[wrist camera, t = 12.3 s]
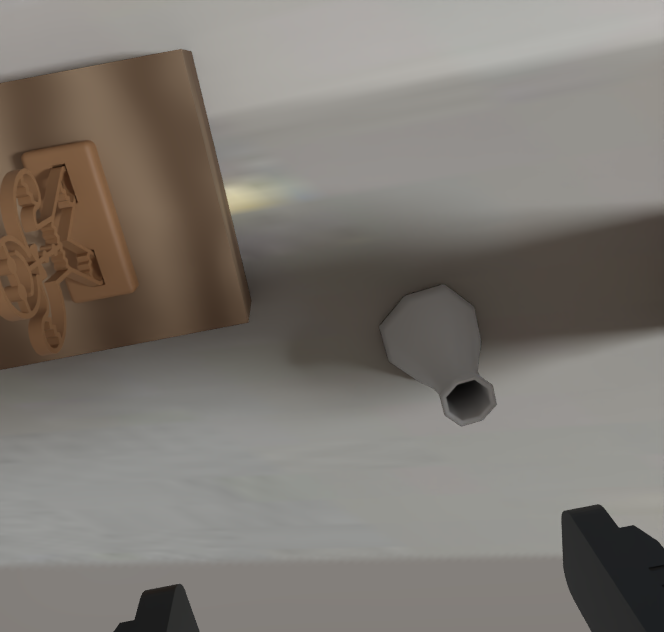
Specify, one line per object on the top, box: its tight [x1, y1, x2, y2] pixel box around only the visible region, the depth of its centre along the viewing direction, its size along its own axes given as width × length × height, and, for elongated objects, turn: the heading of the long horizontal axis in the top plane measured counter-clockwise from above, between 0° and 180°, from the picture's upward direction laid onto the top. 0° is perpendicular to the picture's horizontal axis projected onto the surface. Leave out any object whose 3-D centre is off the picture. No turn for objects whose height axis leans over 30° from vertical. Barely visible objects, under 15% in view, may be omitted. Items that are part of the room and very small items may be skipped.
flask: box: [379, 284, 497, 426], centre depth 39 cm, size 7×7×10 cm
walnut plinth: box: [0, 49, 251, 370], centre depth 37 cm, size 16×16×4 cm
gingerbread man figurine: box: [0, 140, 139, 356], centre depth 30 cm, size 9×4×12 cm, turn 10°
